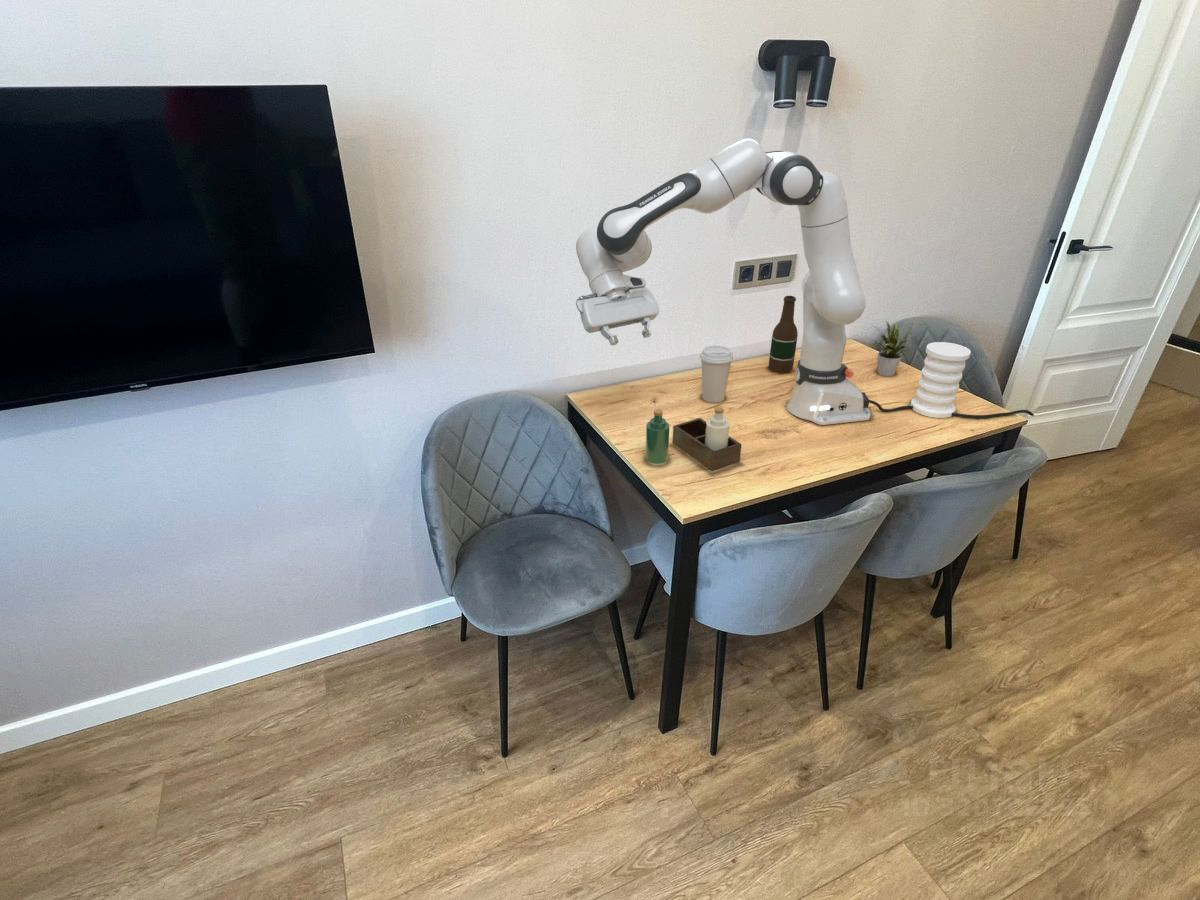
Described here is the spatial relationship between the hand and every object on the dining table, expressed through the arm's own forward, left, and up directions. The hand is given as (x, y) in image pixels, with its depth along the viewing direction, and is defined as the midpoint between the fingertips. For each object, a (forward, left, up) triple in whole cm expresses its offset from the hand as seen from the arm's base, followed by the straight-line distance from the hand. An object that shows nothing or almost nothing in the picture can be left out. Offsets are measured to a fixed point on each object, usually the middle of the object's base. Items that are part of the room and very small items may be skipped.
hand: (631, 340), depth 155 cm
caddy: (-18, +8, -28) cm, 34 cm away
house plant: (-83, -43, -28) cm, 97 cm away
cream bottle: (-20, +11, -27) cm, 36 cm away
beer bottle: (-51, -46, -28) cm, 74 cm away
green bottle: (-6, +11, -28) cm, 30 cm away
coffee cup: (-26, -25, -28) cm, 46 cm away
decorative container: (-87, -16, -28) cm, 92 cm away
